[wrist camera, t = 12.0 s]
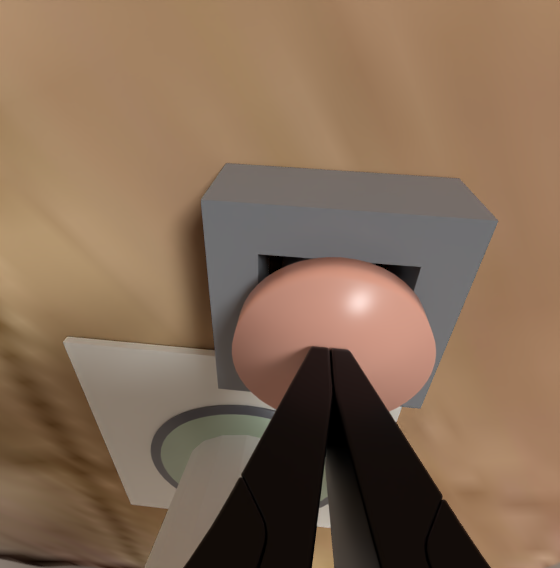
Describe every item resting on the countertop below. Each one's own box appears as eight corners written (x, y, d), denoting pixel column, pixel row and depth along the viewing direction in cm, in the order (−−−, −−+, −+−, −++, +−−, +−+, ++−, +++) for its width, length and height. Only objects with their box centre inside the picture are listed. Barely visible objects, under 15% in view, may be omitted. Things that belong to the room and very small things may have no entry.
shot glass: (291, 415, 15) (271, 658, 9) (337, 498, 18) (344, 711, 13) (150, 436, 17) (60, 648, 11) (215, 508, 20) (173, 697, 14)
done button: (256, 317, 13) (235, 413, 9) (256, 195, 10) (226, 270, 7) (386, 329, 12) (408, 430, 9) (419, 206, 10) (465, 288, 7)
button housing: (234, 332, 13) (218, 388, 11) (225, 163, 10) (200, 199, 8) (404, 347, 13) (420, 408, 11) (459, 178, 9) (497, 220, 7)
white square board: (133, 499, 21) (130, 506, 21) (67, 336, 14) (60, 344, 14) (355, 525, 21) (356, 533, 20) (411, 368, 13) (414, 377, 13)
